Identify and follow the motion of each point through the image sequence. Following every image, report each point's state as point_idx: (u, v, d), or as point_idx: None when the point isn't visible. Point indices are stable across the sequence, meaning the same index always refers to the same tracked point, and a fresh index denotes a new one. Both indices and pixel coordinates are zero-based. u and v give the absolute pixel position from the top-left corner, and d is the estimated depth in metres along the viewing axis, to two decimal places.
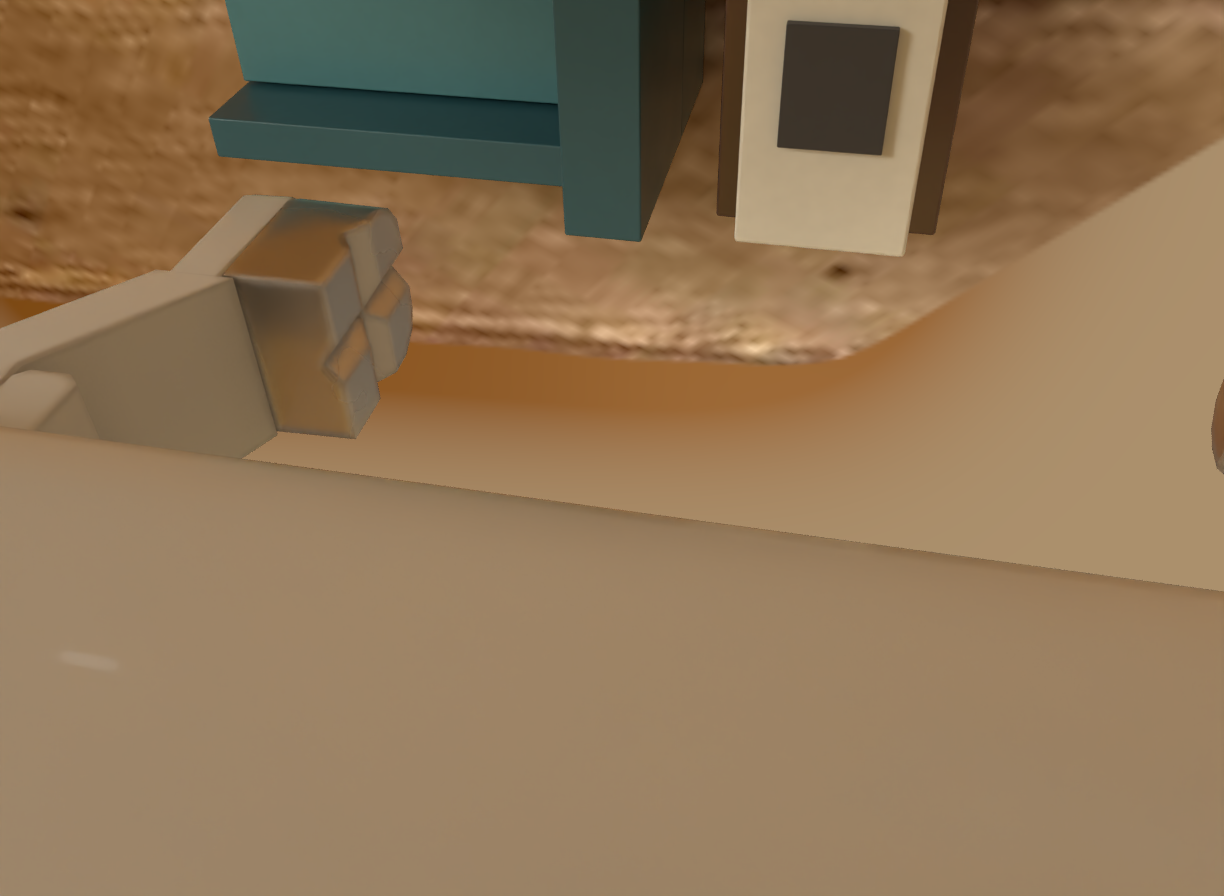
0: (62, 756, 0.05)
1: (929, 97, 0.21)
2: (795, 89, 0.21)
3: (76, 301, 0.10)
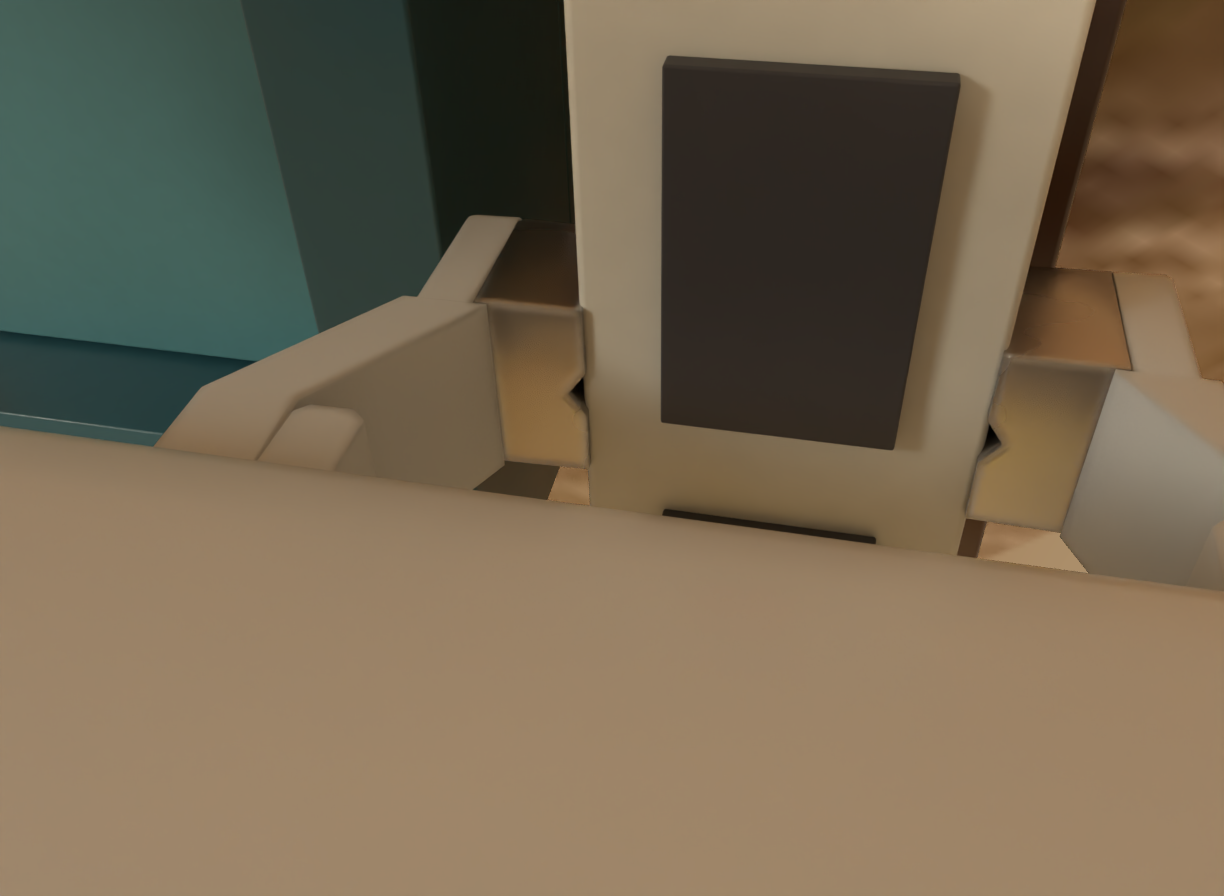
0: (62, 758, 0.05)
1: None
2: None
3: (332, 330, 0.09)
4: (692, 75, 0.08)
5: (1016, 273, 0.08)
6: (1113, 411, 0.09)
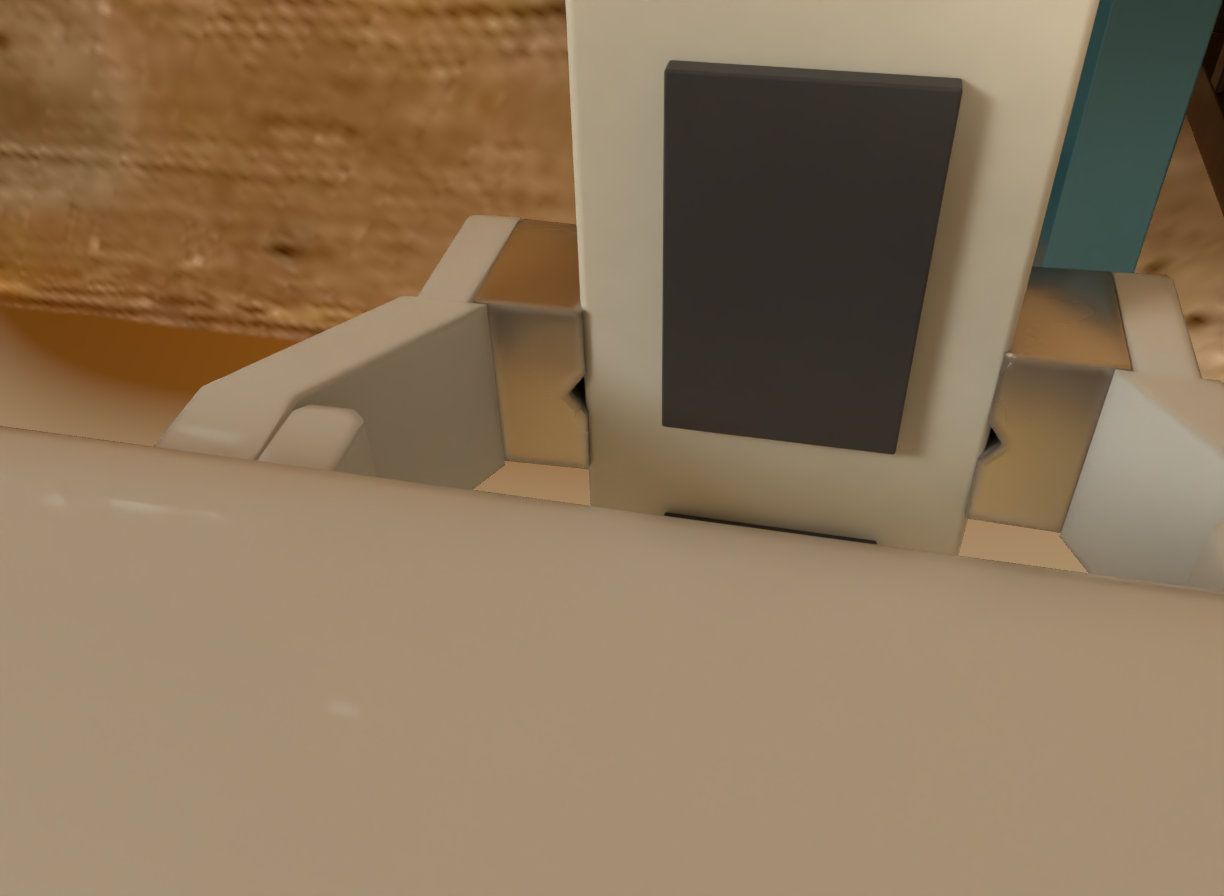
0: (62, 758, 0.05)
1: None
2: None
3: (331, 330, 0.09)
4: (694, 80, 0.08)
5: (1018, 277, 0.08)
6: (1112, 412, 0.09)
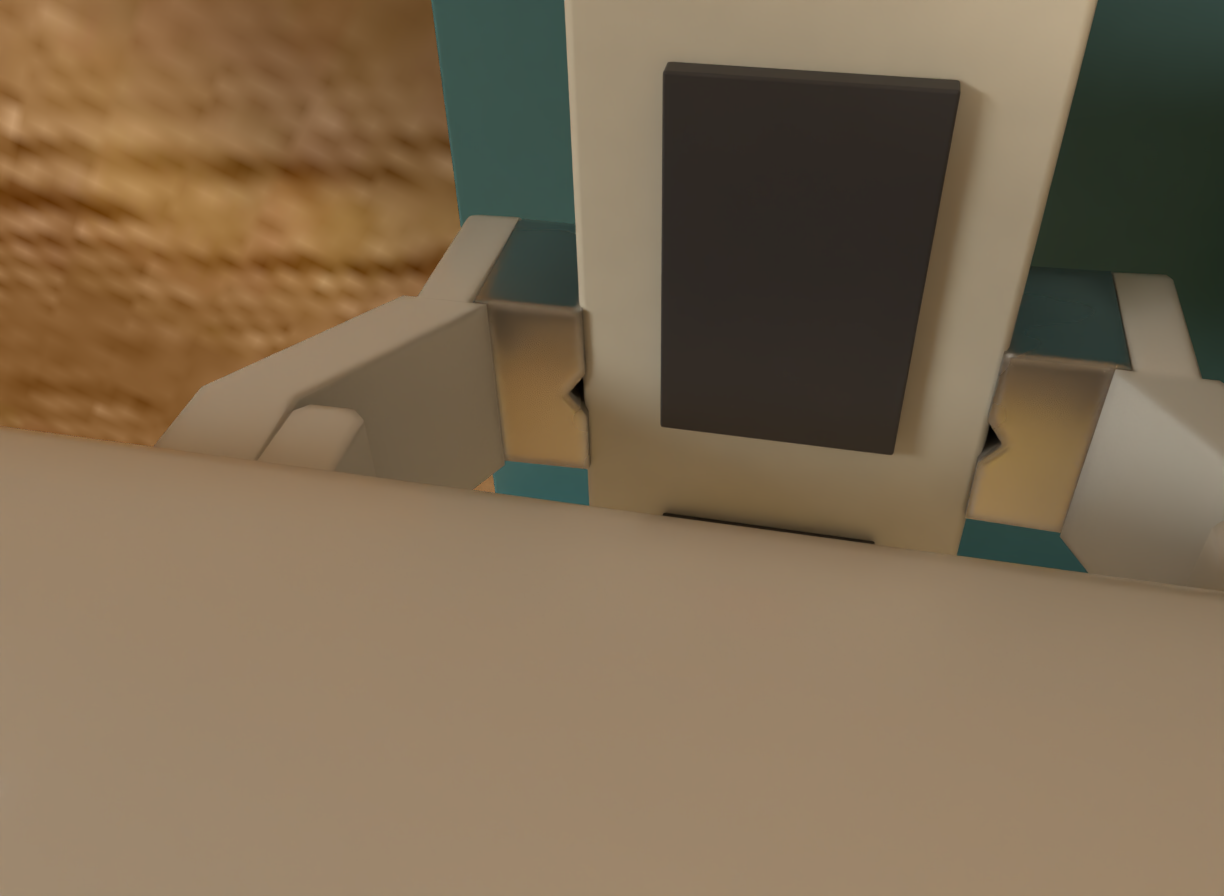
0: (62, 758, 0.05)
1: None
2: None
3: (331, 329, 0.09)
4: (693, 81, 0.08)
5: (1016, 279, 0.08)
6: (1112, 411, 0.09)
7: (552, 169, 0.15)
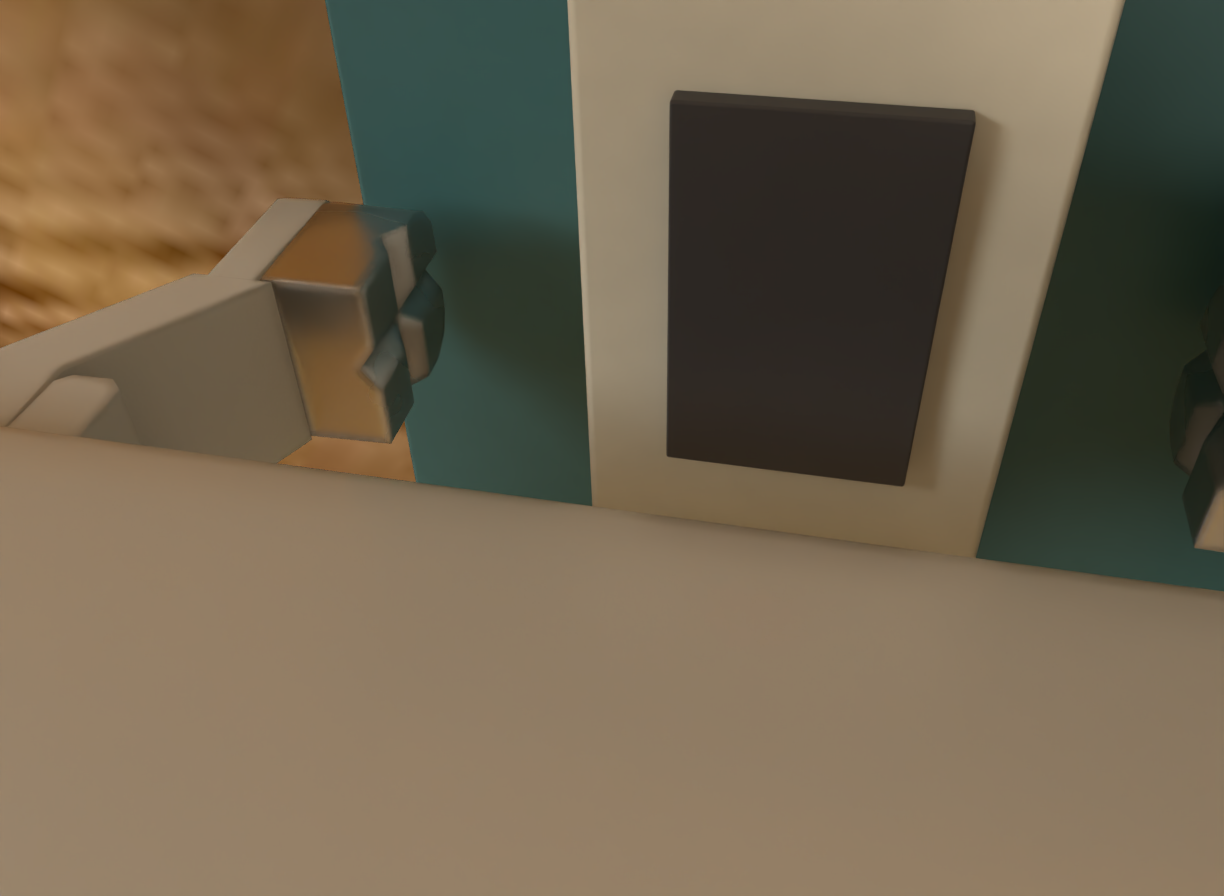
0: (62, 756, 0.05)
1: None
2: None
3: (115, 305, 0.10)
4: (701, 111, 0.08)
5: (1031, 310, 0.08)
6: None
7: (494, 302, 0.13)
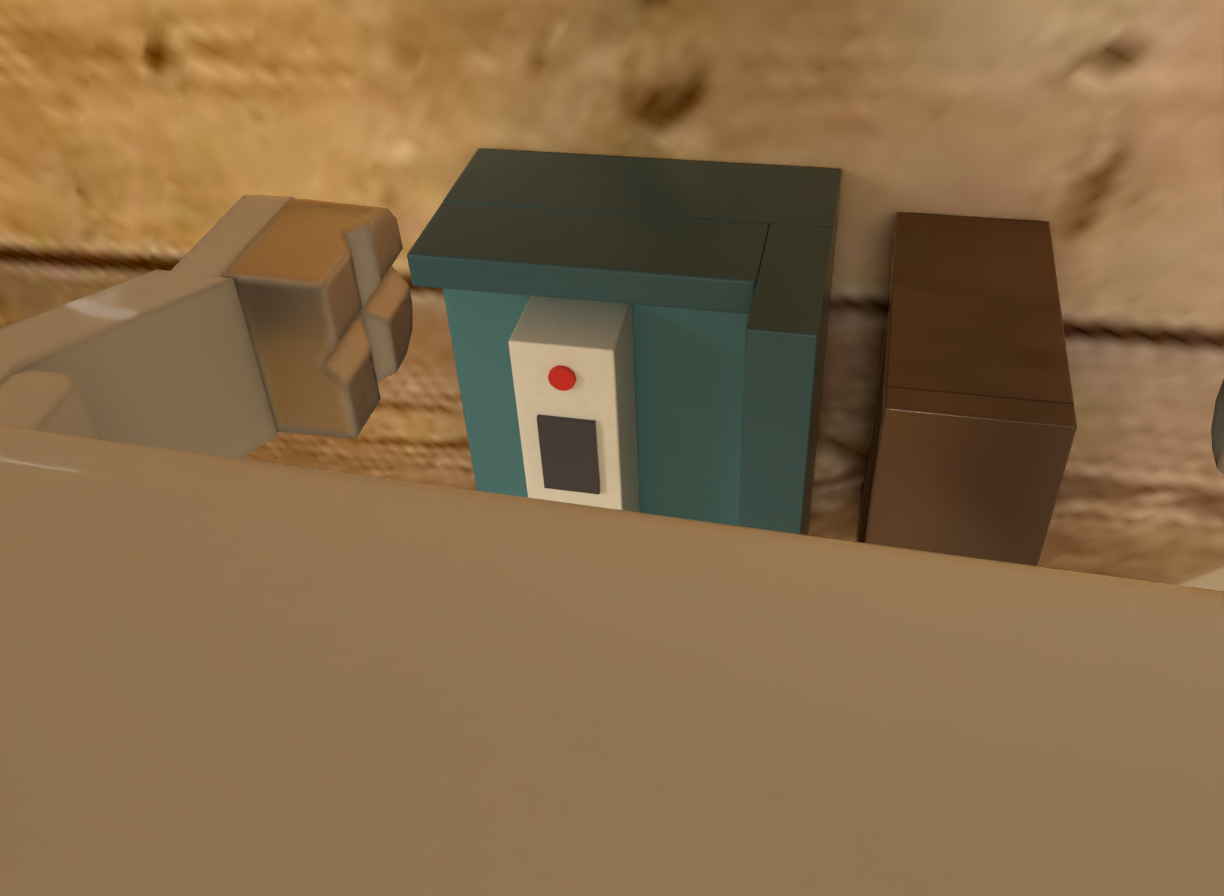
0: (64, 758, 0.05)
1: None
2: None
3: (76, 301, 0.10)
4: (542, 419, 0.38)
5: (617, 456, 0.38)
6: None
7: (502, 440, 0.43)
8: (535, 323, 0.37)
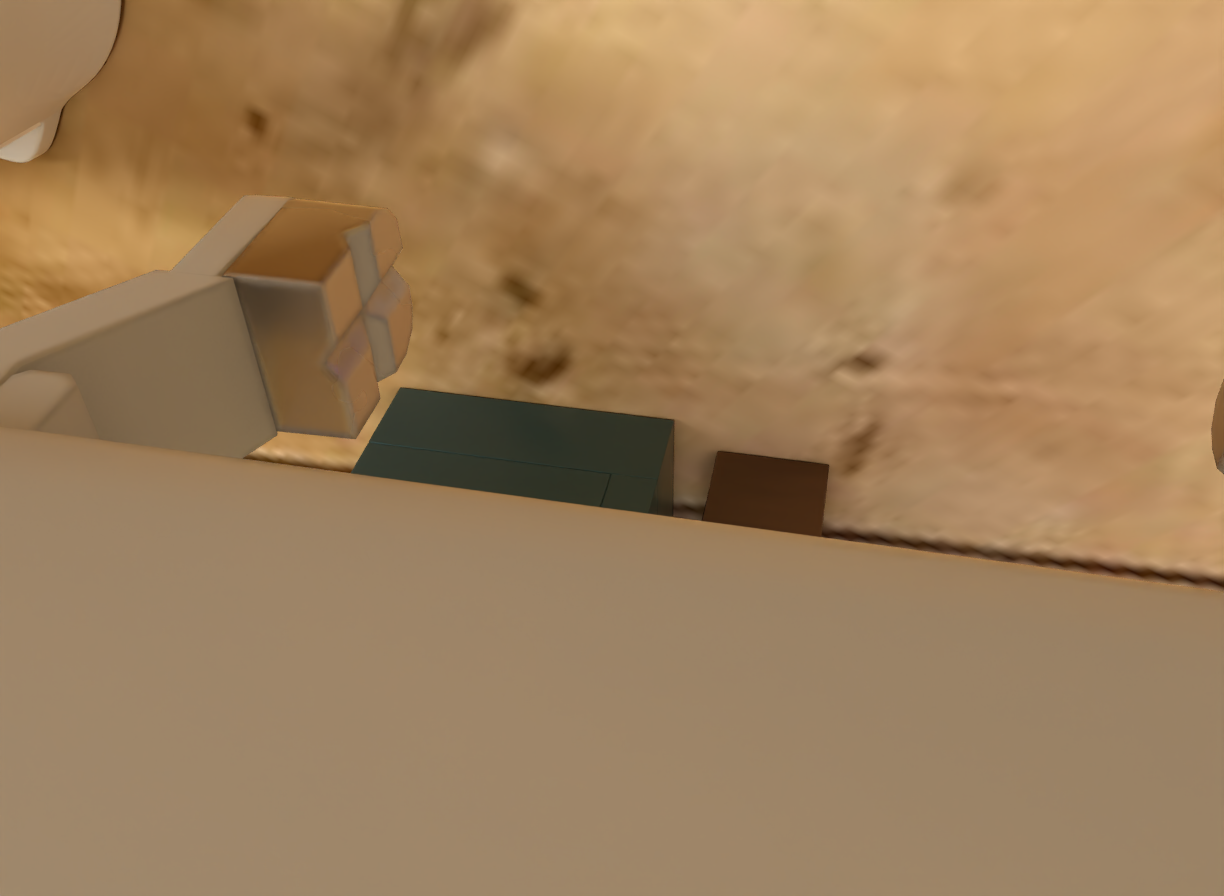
0: (64, 758, 0.05)
1: None
2: None
3: (76, 301, 0.10)
4: None
5: None
6: None
7: None
8: None
